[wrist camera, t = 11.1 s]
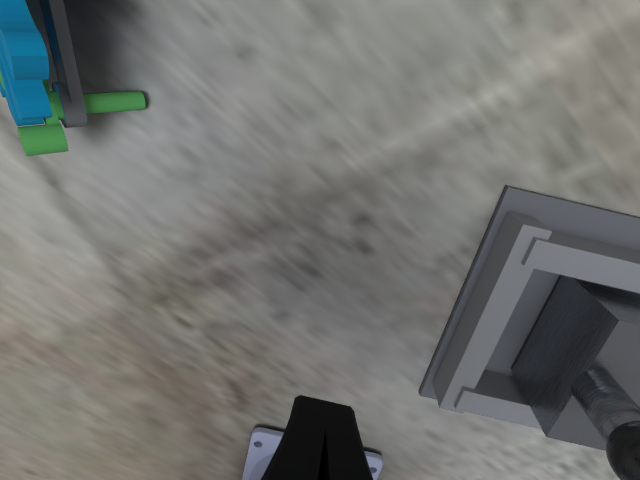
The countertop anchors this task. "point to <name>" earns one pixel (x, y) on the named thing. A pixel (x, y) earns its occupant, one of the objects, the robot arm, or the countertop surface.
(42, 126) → the blue toy water gun
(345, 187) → the countertop surface
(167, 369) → the countertop surface
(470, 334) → the base
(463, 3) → the countertop surface
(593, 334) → the block
